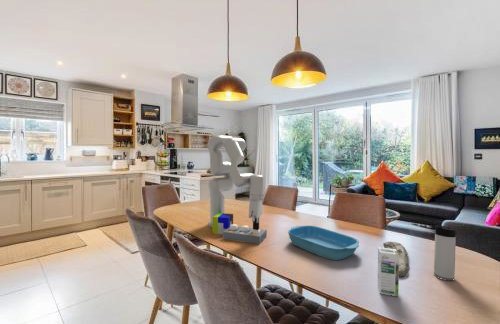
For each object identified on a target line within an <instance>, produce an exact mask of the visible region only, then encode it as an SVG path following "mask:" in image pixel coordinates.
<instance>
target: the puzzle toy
mask: <svg viewBox="0 0 500 324" xmlns="http://www.w3.org/2000/svg"><path fill="white" fill-rule="evenodd" d="M231 224H234V213H217V214H216V215H215V216H213V227H212V234H215V235H223V231H225V230H226V229H228V228H229V227H230V225H231Z"/></svg>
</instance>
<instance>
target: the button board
mask: <svg viewBox="0 0 500 324" xmlns="http://www.w3.org/2000/svg"><path fill="white" fill-rule="evenodd" d="M259 230H260V234H254V233H253V227H249V232H248V233H246V232H241V226H238V230H237V231H230V227H229V228H228V229H226V230H225V231H223V234H222V240H229V241H235V242H243V243H249V244H250V243H251V244H258V245H260V244H262V243H263V241H264V240H265V239H266V238H267V237H268V236H267V232H268V230H267V229H261V228H259Z"/></svg>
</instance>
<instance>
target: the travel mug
mask: <svg viewBox="0 0 500 324" xmlns="http://www.w3.org/2000/svg"><path fill="white" fill-rule="evenodd" d="M456 233H457V230H456V229H454V228H451V227H449V226H444V225H435V230H434V259H433V261H434V262H433V275H434V276H435V277H436V276H437V277H439V278H442V279H446V280H453V279H454V278H455V277H456V276H455V273H456V272H455V271H456V244H457V243H456V241H457V240H456V238H457V236H456ZM437 277H436V278H437ZM439 278H438V279H439ZM442 279H441V280H442ZM455 279H456V278H455ZM455 279H454V280H455ZM446 280H445V281H446ZM454 280H453V281H454Z"/></svg>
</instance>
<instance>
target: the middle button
mask: <svg viewBox="0 0 500 324" xmlns="http://www.w3.org/2000/svg"><path fill="white" fill-rule="evenodd" d="M240 227H241V232H246V233H248V232H249V228H250V227H249V225H241V226H240Z"/></svg>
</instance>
